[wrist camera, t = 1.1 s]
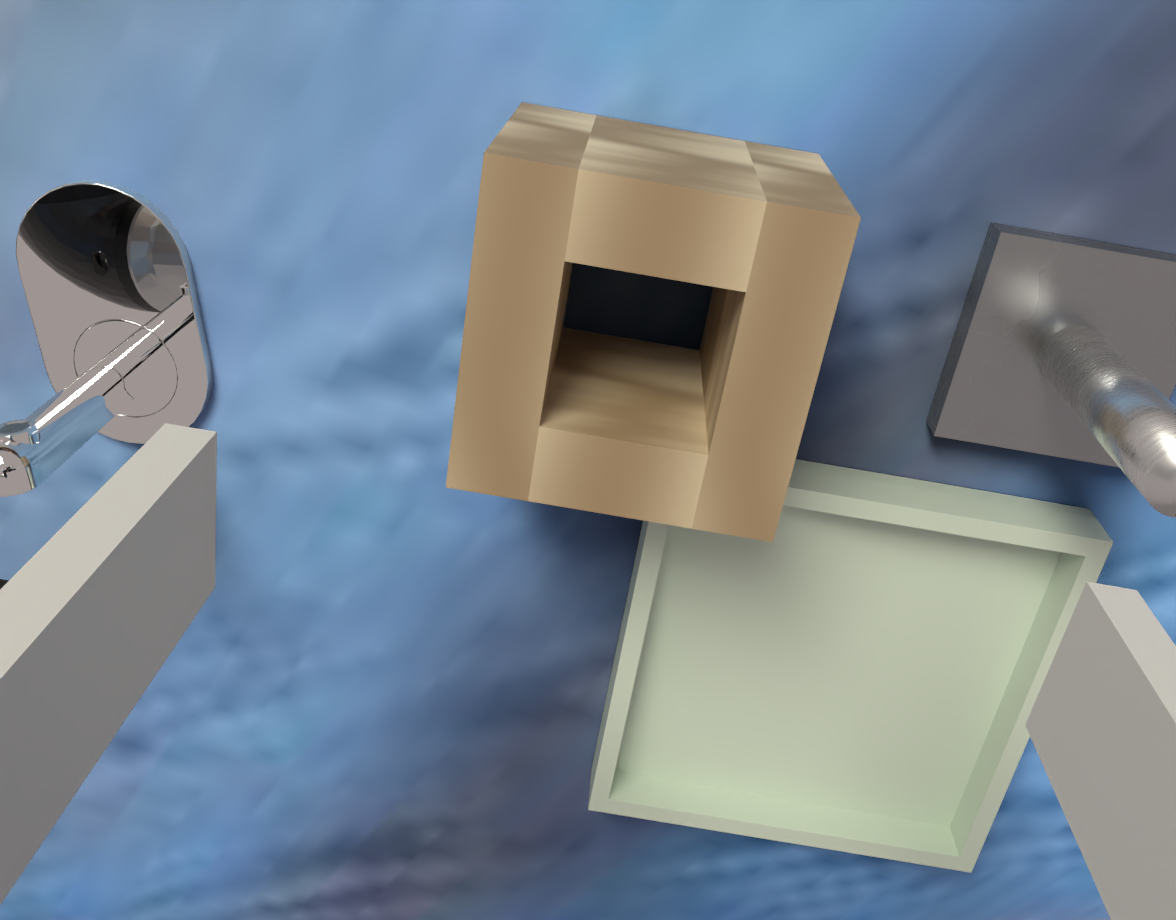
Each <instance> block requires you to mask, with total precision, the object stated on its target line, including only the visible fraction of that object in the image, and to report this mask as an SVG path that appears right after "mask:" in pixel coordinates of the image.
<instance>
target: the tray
mask: <svg viewBox="0 0 1176 920" xmlns="http://www.w3.org/2000/svg"><path fill="white" fill-rule="evenodd" d="M1112 545H1113V541H1112V539H1111V538H1110V537H1109V535H1108V534H1107V532H1106V531H1105V530H1104V528H1103V527H1102V526H1101V524H1100V523H1099V521H1098V520H1097V519H1096V517H1095V516H1094V514H1093V513H1092V512H1091V510H1090V509H1088V508H1082V507H1076V506H1070V505H1064V504H1058V503H1052V502H1046V501H1040V500H1034V499H1029V498H1023V497H1017V496H1011V495H1005V494H999V493H993V492H987V491H981V490H975V489H969V488H964V487H958V486H952V485H946V484H940V483H934V482H928V481H922V480H916V479H910V478H905V477H899V476H893V475H887V474H881V473H875V472H869V471H863V470H857V469H851V468H846V467H840V466H834V465H828V464H822V463H816V462H810V461H804V460H798V459H795V463H794V467H793V471H792V474H791V478H790V482H789V485H788V489H787V493H786V496H785V500H784V504H783V507H782V511H781V515H780V519H779V522H778V526H777V530H776V533H775V537H774V541H773V542H768V541H762V540H756V539H750V538H744V537H738V536H733V535H727V534H721V533H715V532H709V531H703V530H697V529H691V528H685V527H679V526H673V525H667V524H661V523H655V522H649V521H643V523H642V528H641V533H640V538H639V542H638V547H637V552H636V557H635V562H634V566H633V571H632V576H631V581H630V586H629V591H628V595H627V600H626V605H625V610H624V615H623V619H622V624H621V629H620V634H619V639H618V644H617V648H616V653H615V658H614V663H613V668H612V673H611V677H610V682H609V687H608V692H607V697H606V701H605V706H604V711H603V716H602V721H601V726H600V730H599V735H598V740H597V745H596V750H595V755H594V759H593V764H592V769H591V781H590V793H589V805H588V810H592V811H598V812H604V813H610V814H616V815H622V816H628V817H635V818H641V819H647V820H653V821H659V822H665V823H671V824H677V825H683V826H689V827H696V828H702V829H708V830H714V831H720V832H726V833H732V834H738V835H744V836H750V837H757V838H763V839H769V840H775V841H781V842H787V843H793V844H799V845H805V846H811V847H818V848H824V849H830V850H836V851H842V852H848V853H854V854H860V855H866V856H873V857H879V858H885V859H891V860H897V861H903V862H909V863H915V864H921V865H927V866H934V867H940V868H946V869H952V870H958V871H964V872H970V873H971V872H972V870H973V868H974V865H975V863H976V861H977V858H978V856H979V854H980V851H981V849H982V847H983V844H984V842H985V840H986V837H987V835H988V833H989V831H990V828H991V826H992V824H993V821H994V819H995V817H996V814H997V812H998V810H999V807H1000V805H1001V803H1002V800H1003V798H1004V796H1005V793H1006V791H1007V789H1008V786H1009V784H1010V782H1011V779H1012V777H1013V775H1014V772H1015V770H1016V768H1017V765H1018V763H1019V761H1020V758H1021V756H1022V754H1023V751H1024V749H1025V747H1026V744H1027V742H1028V740H1029V738H1030V735H1029V732H1028V730H1027V728H1026V726H1025V724H1026V722H1027V720H1028V717H1029V715H1030V713H1031V710H1032V708H1033V706H1034V703H1035V701H1036V699H1037V696H1038V694H1039V692H1040V689H1041V687H1042V685H1043V682H1044V680H1045V678H1046V675H1047V673H1048V671H1049V668H1050V666H1051V663H1052V661H1053V659H1054V656H1055V654H1056V652H1057V649H1058V647H1059V645H1060V642H1061V640H1062V638H1063V635H1064V633H1065V631H1066V628H1067V626H1068V624H1069V621H1070V619H1071V617H1072V614H1073V612H1074V610H1075V607H1076V605H1077V603H1078V600H1079V598H1080V596H1081V593H1082V591H1083V589H1084V586H1085V584H1086V582H1092V583H1096V582H1097V579H1098V577H1099V575H1100V572H1101V570H1102V568H1103V565H1104V563H1105V561H1106V558H1107V556H1108V554H1109V551H1110V549H1111V547H1112Z"/></svg>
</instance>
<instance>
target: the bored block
mask: <svg viewBox="0 0 1176 920" xmlns="http://www.w3.org/2000/svg"><path fill="white" fill-rule="evenodd" d="M860 219H861V217H860V216H859V214H858V213H857V211H856V210H855V208H854V207H853V205H852V204H851V202H850V201H849V199H848V198H847V196H846V195H845V193H844V192H843V190H842V189H841V187H840V186H839V184H838V183H837V181H836V179H835V178H834V176H833V175H832V173H831V172H830V170H829V169H828V167H827V166H826V164H825V163H824V161H823V160H822V158H821V157H820V155H819V154H816V153H811V152H805V151H799V150H793V149H788V148H782V147H776V146H770V145H765V144H759V143H753V142H747V141H742V140H736V139H730V138H724V137H719V136H713V135H707V134H701V133H696V132H690V131H684V130H678V129H672V128H667V127H661V126H655V125H649V124H644V123H638V122H632V121H626V120H621V119H615V118H609V117H603V116H598V115H592V114H586V113H580V112H575V111H569V110H563V109H557V108H552V107H546V106H540V105H534V104H529V103H523V102H522V103H521V104H520V106H519V107H518V108H517V110H516V111H515V112H514V114H513V115H512V116H511V118H510V119H509V120H508V122H507V123H506V124H505V126H504V127H503V128H502V129H501V131H500V132H499V133H498V135H497V136H496V137H495V139H494V140H493V141H492V143H491V144H490V145H489V147H488V148H487V149H486V151H485V152H484V157H483V166H482V175H481V184H480V192H479V201H478V210H477V219H476V227H475V236H474V245H473V254H472V262H471V271H470V280H469V289H468V297H467V306H466V315H465V324H464V333H463V341H462V350H461V359H460V368H459V376H458V385H457V394H456V403H455V411H454V420H453V429H452V438H451V446H450V455H449V464H448V473H447V482H446V487H447V488H453V489H459V490H465V491H471V492H477V493H483V494H489V495H495V496H501V497H506V498H512V499H518V500H524V501H530V502H536V503H542V504H548V505H554V506H560V507H566V508H572V509H578V510H584V511H590V512H596V513H602V514H608V515H614V516H620V517H625V518H631V519H637V520H643V521H649V522H655V523H661V524H667V525H673V526H679V527H685V528H691V529H697V530H703V531H709V532H715V533H721V534H727V535H733V536H738V537H744V538H750V539H756V540H762V541H768V542H773V541H774V537H775V533H776V530H777V526H778V522H779V519H780V515H781V511H782V507H783V504H784V500H785V496H786V493H787V489H788V485H789V482H790V478H791V474H792V471H793V467H794V463H795V459H796V456H797V452H798V448H799V445H800V441H801V437H802V434H803V430H804V426H805V422H806V419H807V415H808V411H809V408H810V404H811V400H812V397H813V393H814V389H815V385H816V382H817V378H818V374H819V371H820V367H821V363H822V360H823V356H824V352H825V348H826V345H827V341H828V337H829V334H830V330H831V326H832V323H833V319H834V315H835V312H836V308H837V304H838V300H839V297H840V293H841V289H842V286H843V282H844V278H845V275H846V271H847V267H848V263H849V260H850V256H851V252H852V249H853V245H854V241H855V238H856V234H857V230H858V226H859V223H860ZM573 263H578V264H584V265H590V266H595V267H601V268H607V269H613V270H619V271H625V272H630V273H636V274H642V275H648V276H654V277H660V278H665V279H671V280H677V281H683V282H689V283H694V284H700V285H706V286H712V287H713V290H712V294H711V299H710V304H709V308H708V313H707V318H706V322H705V327H704V331H703V336H702V341H701V345H700V350H695V349H689V348H684V347H678V346H672V345H666V344H660V343H654V342H648V341H643V340H637V339H631V338H625V337H619V336H613V335H607V334H602V333H596V332H590V331H584V330H578V329H572V328H566V327H563V326H564V319H565V313H566V306H567V300H568V294H569V287H570V281H571V274H572V268H573Z"/></svg>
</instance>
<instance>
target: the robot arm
mask: <svg viewBox="0 0 1176 920" xmlns="http://www.w3.org/2000/svg"><path fill="white" fill-rule="evenodd" d="M216 453H217V432H214V431H208V430H203V429H197V428H191V427H185V426H179V425H174V424H168V423H165V424H164V425H163V426H162V427H161V428H160V429H159V430H158V431H157V432H156V433H155V434H154V435H153V436H152V437H151V438H150V439H149V440H148V441H147V442H146V443H145V444H144V445H143V446H142V447H141V448H140V449H139V450H138V451H137V452H136V453H135V454H134V455H133V456H132V457H131V458H130V459H129V460H128V461H127V462H126V463H125V464H124V465H123V466H122V467H121V468H120V469H119V470H118V471H117V472H116V473H115V474H114V475H113V476H112V477H111V478H110V480H109V481H108V482H107V483H106V484H105V485H104V486H103V487H102V488H101V489H100V490H99V491H98V492H97V493H96V494H95V495H94V496H93V497H92V498H91V499H90V500H89V501H88V502H87V503H86V504H85V505H84V506H83V507H82V508H81V509H80V510H79V511H78V512H77V513H76V514H75V515H74V516H73V517H72V518H71V519H70V520H69V521H68V522H67V523H66V524H65V525H64V526H63V527H62V528H61V529H60V530H59V531H58V532H57V533H56V534H55V535H54V536H53V537H52V538H51V539H50V540H49V541H48V542H47V543H46V544H45V545H44V546H43V547H42V548H41V549H40V550H39V551H38V552H37V553H36V554H35V555H34V556H33V557H32V558H31V559H30V560H29V561H28V562H27V563H26V564H25V565H24V566H23V567H22V568H21V569H20V570H19V571H18V572H17V573H16V574H15V575H14V576H13V577H12V578H11V579H10V580H9V581H8V580H2V579H0V905H1V903H2V902H3V900H4V899H5V897H6V896H7V894H8V893H9V891H10V890H11V888H12V887H13V885H14V884H15V882H16V881H17V879H18V878H19V876H20V875H21V874H22V872H23V871H24V869H25V868H26V866H27V865H28V863H29V862H30V860H31V859H32V857H33V856H34V854H35V853H36V851H37V850H38V848H39V847H40V845H41V844H42V842H43V841H44V839H45V838H46V837H47V835H48V834H49V832H50V831H51V829H52V828H53V826H54V825H55V823H56V822H57V820H58V819H59V817H60V816H61V814H62V813H63V811H64V810H65V808H66V807H67V805H68V804H69V802H70V801H71V800H72V798H73V797H74V795H75V794H76V792H77V791H78V789H79V788H80V786H81V785H82V783H83V782H84V780H85V779H86V777H87V776H88V774H89V773H90V771H91V770H92V768H93V767H94V765H95V764H96V763H97V761H98V760H99V758H100V757H101V755H102V754H103V752H104V751H105V749H106V748H107V746H108V745H109V743H110V742H111V740H112V739H113V737H114V736H115V734H116V733H117V731H118V730H119V728H120V727H121V726H122V724H123V723H124V721H125V720H126V718H127V717H128V715H129V714H130V712H131V711H132V709H133V708H134V706H135V705H136V703H137V702H138V700H139V699H140V697H141V696H142V694H143V693H144V691H145V690H146V689H147V687H148V686H149V684H150V683H151V681H152V680H153V678H154V677H155V675H156V674H157V672H158V671H159V669H160V668H161V666H162V665H163V663H164V662H165V660H166V659H167V657H168V656H169V654H170V653H171V652H172V650H173V649H174V647H175V646H176V644H177V643H178V641H179V640H180V638H181V637H182V635H183V634H184V632H185V631H186V629H187V628H188V626H189V625H190V623H191V622H192V620H193V619H194V617H195V616H196V615H197V613H198V612H199V610H200V609H201V607H202V606H203V604H204V603H205V601H206V600H207V598H208V597H209V595H210V594H211V592H212V591H213V589H214V588H215V551H216ZM1025 726H1026V728H1027V730H1028V732H1029V735H1030V737H1031V739H1032V742H1033V744H1034V746H1035V748H1036V751H1037V753H1038V755H1039V757H1040V760H1041V762H1042V764H1043V766H1044V769H1045V771H1046V773H1047V776H1048V778H1049V780H1050V782H1051V785H1052V787H1053V789H1054V791H1055V794H1056V796H1057V798H1058V800H1059V803H1060V805H1061V807H1062V810H1063V812H1064V814H1065V816H1066V819H1067V821H1068V823H1069V825H1070V828H1071V830H1072V832H1073V834H1074V837H1075V839H1076V841H1077V844H1078V846H1079V848H1080V850H1081V853H1082V855H1083V857H1084V859H1085V862H1086V864H1087V866H1088V868H1089V871H1090V873H1091V875H1092V878H1093V880H1094V882H1095V884H1096V887H1097V889H1098V891H1099V893H1100V896H1101V898H1102V900H1103V902H1104V905H1105V907H1106V909H1107V912H1108V914H1109V916H1110V918H1111V920H1176V646H1175V644H1174V643H1173V642H1172V640H1171V639H1170V637H1169V636H1168V634H1167V633H1166V632H1165V630H1164V629H1163V627H1162V626H1161V624H1160V623H1159V621H1158V620H1157V619H1156V617H1155V616H1154V614H1153V613H1152V611H1151V610H1150V609H1149V607H1148V606H1147V604H1146V603H1145V601H1144V600H1143V598H1142V597H1141V596H1140V594H1139V593H1138V591H1137V590H1133V589H1127V588H1121V587H1115V586H1109V585H1104V584H1098V583H1092V582H1086V584H1085V586H1084V589H1083V591H1082V593H1081V596H1080V598H1079V600H1078V603H1077V605H1076V607H1075V610H1074V612H1073V614H1072V617H1071V619H1070V621H1069V624H1068V626H1067V628H1066V631H1065V633H1064V635H1063V638H1062V640H1061V642H1060V645H1059V647H1058V649H1057V652H1056V654H1055V656H1054V659H1053V661H1052V663H1051V666H1050V668H1049V671H1048V673H1047V675H1046V678H1045V680H1044V682H1043V685H1042V687H1041V689H1040V692H1039V694H1038V696H1037V699H1036V701H1035V703H1034V706H1033V708H1032V710H1031V713H1030V715H1029V717H1028V720H1027V722H1026V724H1025Z"/></svg>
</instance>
